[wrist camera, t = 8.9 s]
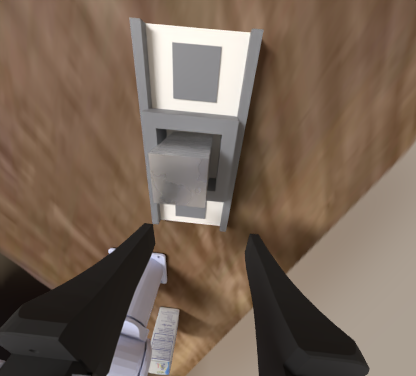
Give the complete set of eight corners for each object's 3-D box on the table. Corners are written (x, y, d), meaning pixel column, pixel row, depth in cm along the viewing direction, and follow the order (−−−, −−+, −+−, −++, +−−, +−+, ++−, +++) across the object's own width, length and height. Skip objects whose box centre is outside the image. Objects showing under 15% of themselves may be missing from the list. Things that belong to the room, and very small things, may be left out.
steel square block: (175, 167, 19) (153, 202, 13) (174, 131, 17) (148, 153, 11) (210, 170, 19) (204, 208, 13) (213, 134, 17) (208, 158, 11)
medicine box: (160, 305, 37) (145, 359, 30) (180, 308, 37) (170, 363, 30) (160, 321, 41) (147, 373, 33) (178, 324, 41) (169, 376, 34)
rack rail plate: (156, 214, 24) (145, 234, 21) (138, 25, 14) (112, 5, 10) (226, 222, 24) (227, 243, 20) (260, 36, 14) (272, 19, 10)
